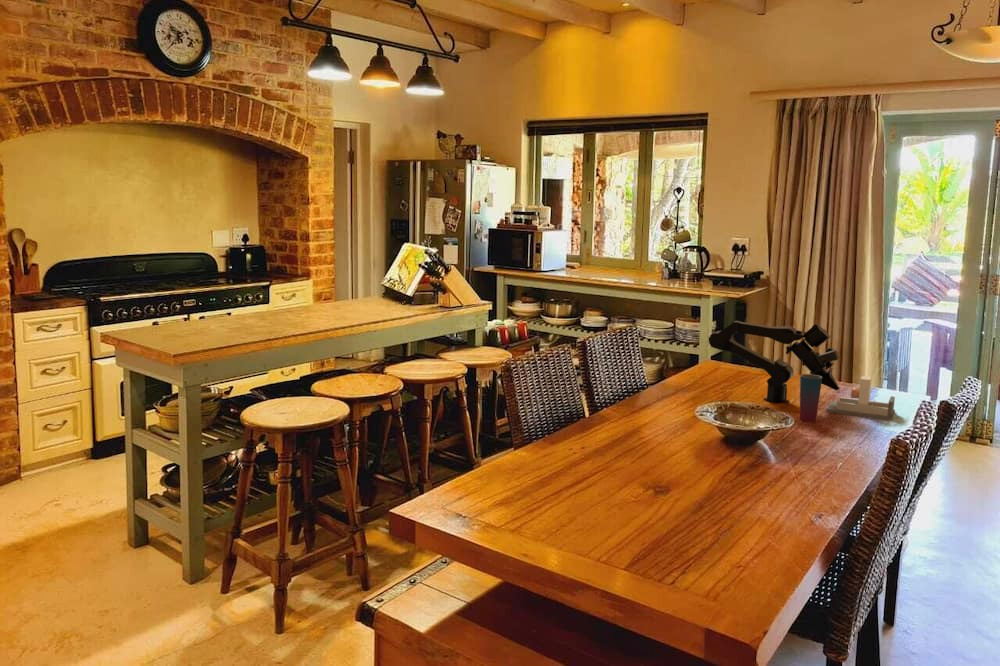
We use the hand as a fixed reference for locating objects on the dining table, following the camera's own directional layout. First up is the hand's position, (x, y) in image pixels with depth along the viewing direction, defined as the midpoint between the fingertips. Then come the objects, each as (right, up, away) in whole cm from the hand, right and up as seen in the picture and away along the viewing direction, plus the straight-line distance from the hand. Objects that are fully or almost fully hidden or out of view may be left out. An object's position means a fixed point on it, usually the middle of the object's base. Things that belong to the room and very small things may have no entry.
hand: (838, 389), depth 268 cm
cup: (-16, -9, -13) cm, 22 cm away
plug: (+6, -6, -3) cm, 9 cm away
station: (+6, -8, -3) cm, 10 cm away
